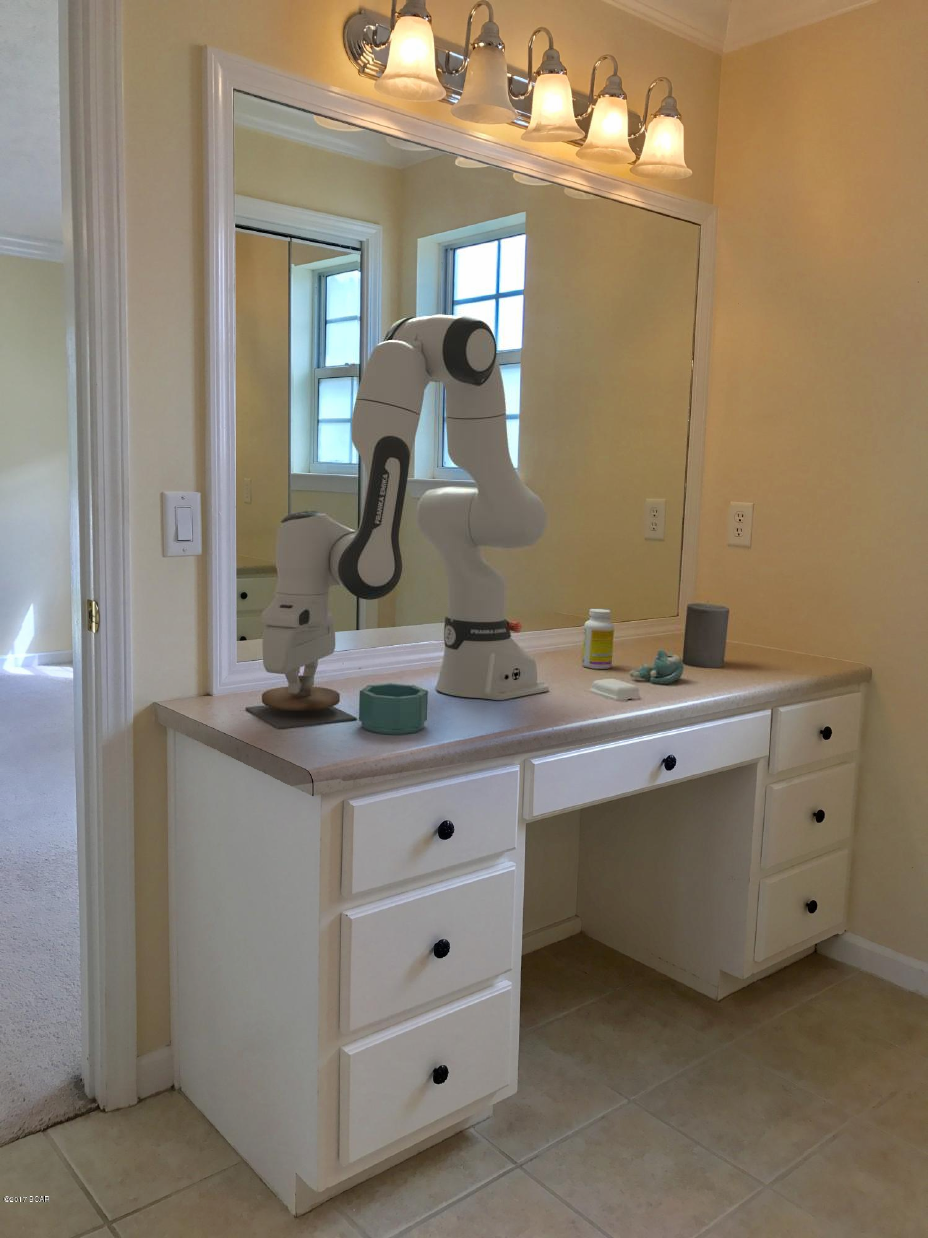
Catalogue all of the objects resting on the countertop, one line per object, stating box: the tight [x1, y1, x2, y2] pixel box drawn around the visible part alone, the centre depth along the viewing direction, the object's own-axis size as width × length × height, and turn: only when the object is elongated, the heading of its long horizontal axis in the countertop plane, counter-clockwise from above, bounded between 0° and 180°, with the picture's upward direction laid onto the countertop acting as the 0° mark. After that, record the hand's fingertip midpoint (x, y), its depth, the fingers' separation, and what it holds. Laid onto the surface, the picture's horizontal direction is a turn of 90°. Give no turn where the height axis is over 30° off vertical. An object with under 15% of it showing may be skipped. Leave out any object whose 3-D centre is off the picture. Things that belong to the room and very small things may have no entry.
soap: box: [589, 678, 641, 702], centre depth 191 cm, size 9×7×3 cm
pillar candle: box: [681, 600, 730, 669], centre depth 227 cm, size 10×10×15 cm
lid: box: [261, 675, 341, 710], centre depth 165 cm, size 13×13×4 cm
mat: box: [245, 704, 358, 730], centre depth 165 cm, size 14×14×1 cm
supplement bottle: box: [581, 608, 615, 670], centre depth 218 cm, size 7×7×13 cm
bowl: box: [358, 682, 429, 736], centre depth 160 cm, size 10×10×6 cm
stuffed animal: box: [629, 649, 685, 685], centre depth 207 cm, size 11×7×12 cm
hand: (301, 689), depth 165 cm, fingers closed on lid, 3 cm apart
